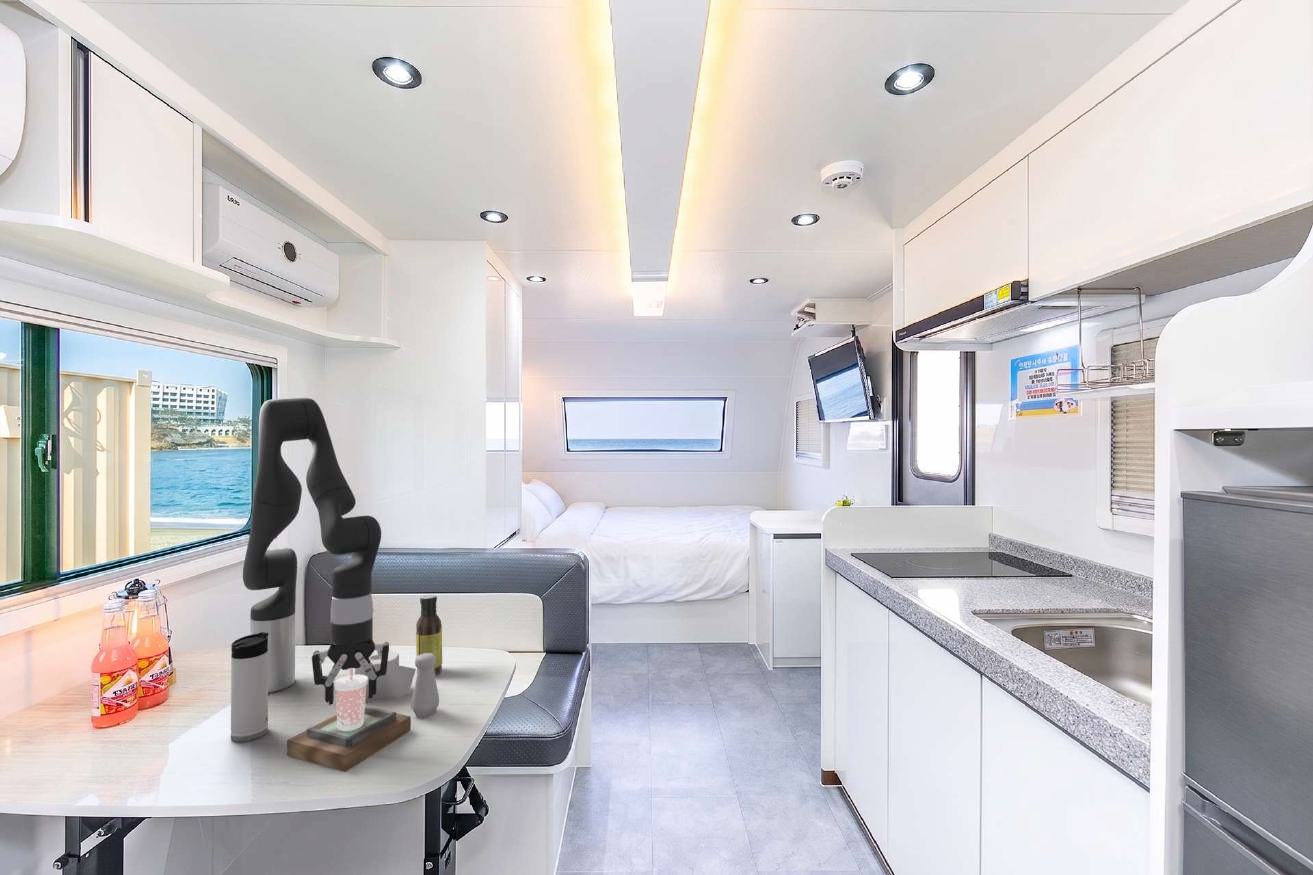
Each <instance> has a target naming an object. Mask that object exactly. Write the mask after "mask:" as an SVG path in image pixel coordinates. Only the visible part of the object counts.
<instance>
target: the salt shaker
mask: <svg viewBox="0 0 1313 875" xmlns="http://www.w3.org/2000/svg"><path fill="white" fill-rule="evenodd" d="M435 663H436V656H435V655H434V654H432V653H425V654H421V655H419V656H417V657H416V656H415V660H414V666H415V668H416V669H417V668H418V672H417V671H416V679H415V684H414V689H413V695H412V699H411V704H410V706H411V709H412V711H413V713H414V715H415V718H418V719H419V718H420V719H425V718H426V719H427V718H429V717H432V716H434V714H435V713H436V712H437V708H438V707H439V704H440V696H439V690H438V685H437V680H436V675H435V673H434V667H433V666H434V665H435Z"/></svg>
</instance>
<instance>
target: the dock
mask: <svg viewBox="0 0 1313 875" xmlns="http://www.w3.org/2000/svg"><path fill="white" fill-rule="evenodd" d="M411 720H412V716H410V715H406V714H400V713H397V712H396V711H391V710H388V709H387V710H386V709H383V708H378V707H373V706H370V705H365V712H364V723H363V725H362V726H361V727H360V728H357V729H355V730H351V731H340V730H338V724H337V714H335V715H332V716H331V717H329V718H326V719H325V720H324V721H321V722H319V723H318V724H315V725H313V726H312V727H309V728H308V727H307V729H305V730H304V731H302V732H300V733H298V734H296V735H294V736H291V737H290V738H288V739H287V740H286V755H287V756H288V757H291V758H295V759H298V760H302V761H306V762H309V763H312V764H315V765H316V764H317V765H320V766H323V767H328V768H331V769H334V770H338V771H341V772H347V771H349V770H351V769H353V768H354V767H356V766H357V765H359V764H360V763H362V762H363V761H365V760H367V759H368V758H370V757H371V756H373V755H375V754H376V753H377V752H379V751H381V750H382V749H384V748H386V747H388V745H390V744H392V743H393V742H395V741H397V740H398V739H400V738H401V737H403V736H405V735H406V734H408V733H409V732H411V731H412V729H411V728H412V726H411V724H412V723H411V722H412V721H411Z"/></svg>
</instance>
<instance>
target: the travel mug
mask: <svg viewBox="0 0 1313 875" xmlns="http://www.w3.org/2000/svg"><path fill="white" fill-rule="evenodd" d="M267 646H268V633H265V632H260V633H259V634H252V635H250V634H248V635H245V636H242V637H239V638H238V639H236V640H234V641H233V642H232V643H231V647H230V648H231V655H230V659H231V660H230V739H231V741H233V742H235V743H244V742H250V741H253V740H256V739H259V738H260V737H262V736H264V735H265V734H266V733H267V732H268V730H269V724H268V722H269V693H268V647H267Z"/></svg>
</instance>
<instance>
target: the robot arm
mask: <svg viewBox="0 0 1313 875" xmlns="http://www.w3.org/2000/svg"><path fill="white" fill-rule="evenodd" d="M258 418H259V419H258V458H257V470H256V476H255V484H254V489H253V494H252V496H253V497H252V503H251V504H252V505H251V507H252V508H251V520H250V521H251V522H250V529H249V530H250V532H249V536H248V537H249V538H248V543H247V546H246V552H245V557H244V562H243V567H242V582H243V585H244V587H245V588H246V589H248V590H250V591H262V590H269V589H274V588H275V589H276V588H278V589H277V591H276V592H275V593H273V594H272V595H270V596H268V597H267V598H264V599H262V600H261V601H258V602H256V603H255V604H253V605H252V606H251V608H250V614H249V616H250V617H249V618H250V625H249V627H250V628H249V629H250V634H249V635H252V634H259V633H260V632H265V633H268V646H267V647H268V694H269V693H274V692H278V691H282V690H284V689H287V688H289V687H291V686H292V685H294V683H295V681H296V599H297V598H296V596H297V593H296V592H297V577H298V557H297V554H296V552H295V550H294V549H292V548H290V547H289V548H278V549H277V548H276V549H270V550H269V549H268V548H269V547H270V546H271V544H272V542H273V541H274V540H275V539H276V538H277V537H278V536H279V535H280V534H282V532H283V531H284V530H285V529H286V528H287V527H289V526H290V524H291V523H292V522H293V521H294V520H295V519H296V517H297V515H298V514H299V511H300V505H301V501H302V500H301V499H302V492H303V491H302V490H303V488H302V484H301V482H300V480H299V478H298V477H297V476H296V473H294V471H293V470H292V469H291V468H290V467H289V465H288V464H287V463H286V461H285V459H284V458H283V456H282V445H283V443H284V442H293V441H303V440H308V441H309V442H310V443H311V446H312V451H313V452H312V456H311V458H310V459H311V460H310V462H309V465H308V468H307V472H306V480H305V481H306V487H307V491H308V492H309V495H310V498H311V499H312V501H313V503H314V505H315V507H316V510H317V512H318V518H319V524H320V535H321V536H320V538H321V543H322V545H323V548H324V549H326V550H327V552H329V553H331V554H332V555H335V556H336V555H337V556H338V555H339V556H340V555H346V554H352V556H351V557H350V559H349V560H348V561H347V562H345V563H342V564H340V565H338V566H337V567H335V568H334V569H333V571H332V575H331V591H332V592H331V604H330V614H329V615H330V622H329V623H330V628H329V629H330V630H329V631H330V633H329V634H330V637H329V638H330V639H329V641H330V642H329V643H330V645H329V648H328V649H327V650H324V651H319V650H314V651H313V653H312V656H311V663H312V664H311V665H312V674H313V681H314V685H315V686H319V685H321V686H324V694H325V695H324V701H325V703H328V705H329V706H330V705H332V706H333V705H334V701H335V689H334V682H335V679H336V678H337V676H338V674H339V673H340V671H341V670H342V671H347V670H350V668H353V669H355V668H360V667H361V666H362V668H363V669H364V671H365V672H366V673H367V674H368V676H369V699H370V698H372V697H373V695H375V694H376V681H377V678H378V677H379V676H381V675H382V676H383V675H385V674H386V671H387V663H388V654H389V650H390V643H389V642H388V641H385V642H384V643H377V644H376V643H375V642H374V640H373V639H374V638H373V632H374V631H373V630H374V629H373V628H374V627H373V626H374V625H373V624H374V620H373V618H374V616H373V615H374V614H373V613H374V607H373V606H374V604H373V602H374V601H373V595H372V579H373V578H372V576H373V575H372V573H373V568H374V565H375V562H376V558H377V555H378V552H379V548H380V545H381V540H382V528H381V525H380V523H379V522H378V520H377V519H376V517H374V516H371V515H358V516H351V517H350V516H349V517H343V516H345V515H347V514H349V513H350V512H351V511H352V510H353V509H354V508H355V506H356V504H357V503H356V502H357V501H356V497H355V495H354V493H353V492H352V489H351V488H350V485H349V483H348V482H347V480H346V478H345V475H344V474H343V472H342V469H341V468H340V464H339V462H338V459H337V456H336V452H335V448H334V445H333V441H332V438H331V434H330V431H329V429H328V425H327V422H326V420H325V417H324V413H323V411H322V409H321V407H320V406H319V404H318V403H317V401H315V400H314V399H312V398H309V397H294V398H293V397H292V398H291V397H289V398H275V399H274V398H273V399H269V400H266V401H264V402H263V404H262V405H261V407H260V410H259V417H258ZM374 651H377V652H378V655H380V656H381V665H380V668H378V669H375V668H374V666H373V665H372V662H371V660H370V659H369V657H370V656H371V654H372V653H373V652H374ZM327 657H328V658H329V660H330V661H331V662H333V665H332V667H331V669H330V671H329V673H328V674H327V675H323V668H322V666H323V665H322V664H323V663H325V660H326V658H327Z"/></svg>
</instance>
